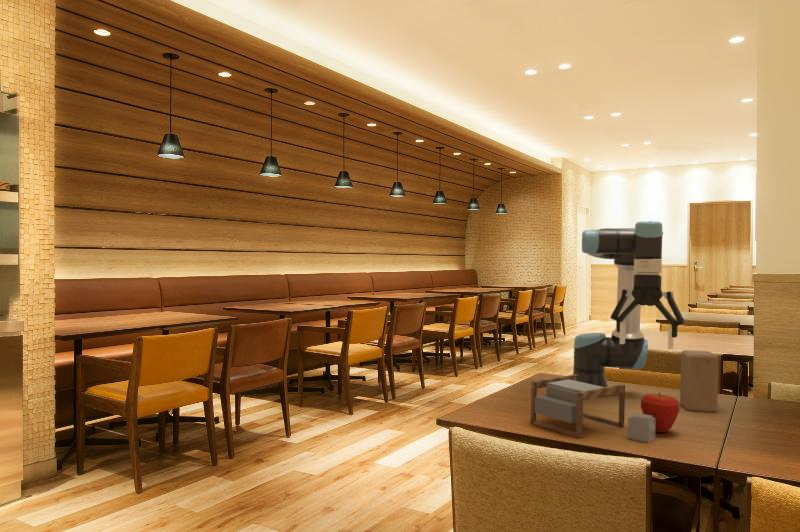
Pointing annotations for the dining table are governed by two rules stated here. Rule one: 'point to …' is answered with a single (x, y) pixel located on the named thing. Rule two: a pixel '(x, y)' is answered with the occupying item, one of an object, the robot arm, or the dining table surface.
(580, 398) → the wooden rack
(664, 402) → the apple
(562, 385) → the grey angular block
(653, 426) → the stone
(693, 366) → the wooden block
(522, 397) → the dining table surface
